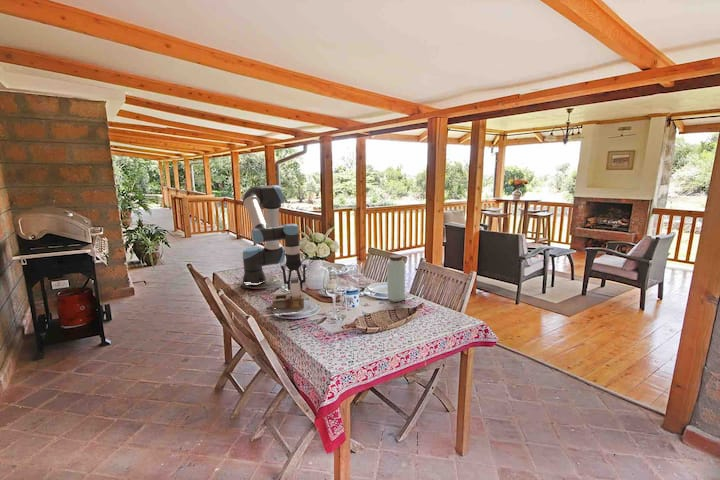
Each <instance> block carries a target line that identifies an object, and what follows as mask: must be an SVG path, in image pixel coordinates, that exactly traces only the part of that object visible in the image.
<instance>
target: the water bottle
mask: <svg viewBox="0 0 720 480" xmlns="http://www.w3.org/2000/svg"><path fill="white" fill-rule="evenodd" d="M405 264H406V263H405V261H404V259H403V256H402V255H400V254H391V255H389V259H388V260H387V262H386V269H387V270H386V272H387V273H386V274H387V276H386V277H387V279H386V280H387V284H386V285H387V298H388V300H389V301H391V302H396V303H397V302H401V301H404V300H405V298H406V294H405V293H406V291H405V290H406V289H405V288H406V287H405V286H406V285H405V284H406V283H405V281H406V280H405V278H406V276H405V274H406V273H405V271H406V270H405V268H406V266H405Z"/></svg>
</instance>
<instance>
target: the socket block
mask: <svg viewBox="0 0 720 480" xmlns="http://www.w3.org/2000/svg"><path fill="white" fill-rule="evenodd" d="M304 294H305V293H304V292H302V291H301V295H300V297H296V298H292V296H291V294H290V293H289V292H288V293H278V294H273V298H272V310H273V309H274V308H276V309H282V310H292V309H304V308H305V300H304Z"/></svg>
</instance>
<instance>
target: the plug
mask: <svg viewBox="0 0 720 480" xmlns="http://www.w3.org/2000/svg"><path fill="white" fill-rule="evenodd" d="M299 282H300V281H299V278H298V276H294V277H291V279H290V283H291V290H292V298H296V297H300V295H299Z"/></svg>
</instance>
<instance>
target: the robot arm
mask: <svg viewBox="0 0 720 480" xmlns="http://www.w3.org/2000/svg"><path fill="white" fill-rule="evenodd" d="M284 201H285V198H284V193H283V190H282V188H281V186H280V185H278V184H277V185H276V184H275V185H274V184H272V185H271V184H270V185H256V186H255V185H254V186H252V187H250V188H249V189H247V190H246V192H245V193H244V195H243V197H242V204H243V206H244V208H245V209H246V210H247V213H248V217H249V220H250V222H251V224H252V229H251V238H252V239H251V240H252V242H253V243H255V244H256V243H260V244H261V243H264V245H263V248H262V247H260V246H258V245H257V246H250V247H248V248H246V249H244V250H243V251H242V260H243V261H242V262H243V277H242V284H243V283H244V282H251V283H259V282H263V281H265V280H266V281H267V277H266V275H265V272H264V269H263V267H264V266H272V265H279V264H282V263H284V261H285V264H282V265H280V268H281V271H282V278H283V284H284V285H285V284H286V285H287V290H288V291H289V292H290V294H291V296H292V290H291V278H292V271H293V272H294V271H296V273H297V277H298V278H299V295H301V292H302V290H303V287H304V286H303V283H306V267H307V263H303V262H302V260H301V253H300V252H301V249H300V248H301V247H300V233H299V232H300V230H299V226H298V224H297V223H287V224H282V225H280V211H279V210H280V209H281V207H282V204H284ZM262 209H264V212H263V210H262ZM283 240H284V246H283V245H282V243H281V242H280V241H283ZM301 267H302V277H301V272H300V268H301ZM286 268H287V269H288V270H289V272H288V277H287V274H286Z"/></svg>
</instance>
